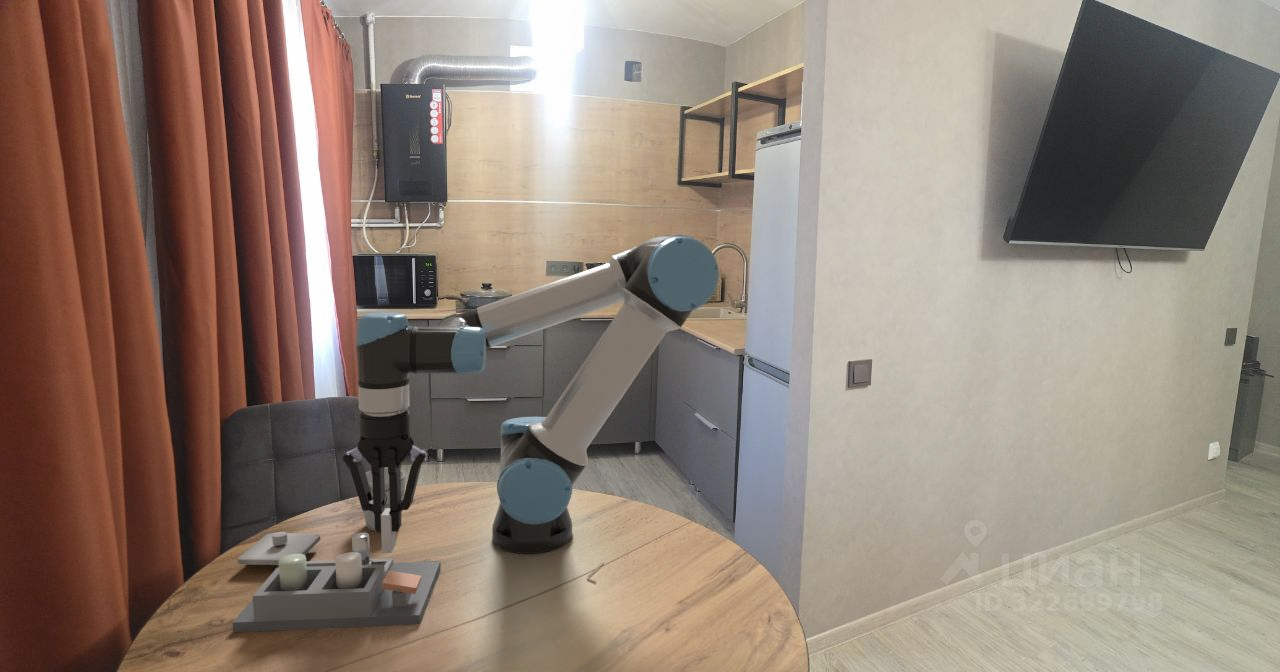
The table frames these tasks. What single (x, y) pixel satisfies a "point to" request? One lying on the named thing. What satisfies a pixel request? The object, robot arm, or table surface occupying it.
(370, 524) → the mug
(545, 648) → the table surface
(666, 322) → the robot arm
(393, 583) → the block
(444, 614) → the table surface
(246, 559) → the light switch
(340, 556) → the white button
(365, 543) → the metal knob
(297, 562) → the sage button
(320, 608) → the panel
